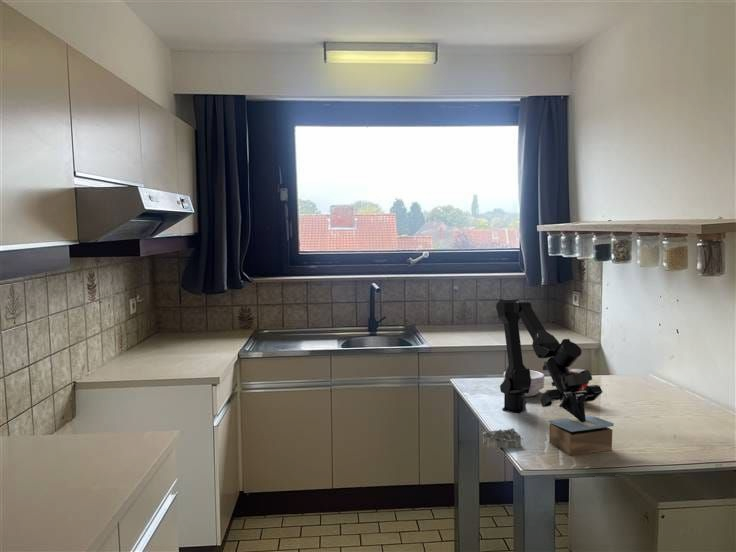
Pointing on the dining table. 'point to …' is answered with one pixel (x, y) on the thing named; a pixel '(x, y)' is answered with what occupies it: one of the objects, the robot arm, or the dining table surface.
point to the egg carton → (501, 438)
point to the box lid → (581, 423)
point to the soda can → (575, 371)
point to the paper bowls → (535, 382)
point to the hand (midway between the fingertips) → (583, 421)
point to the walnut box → (581, 440)
